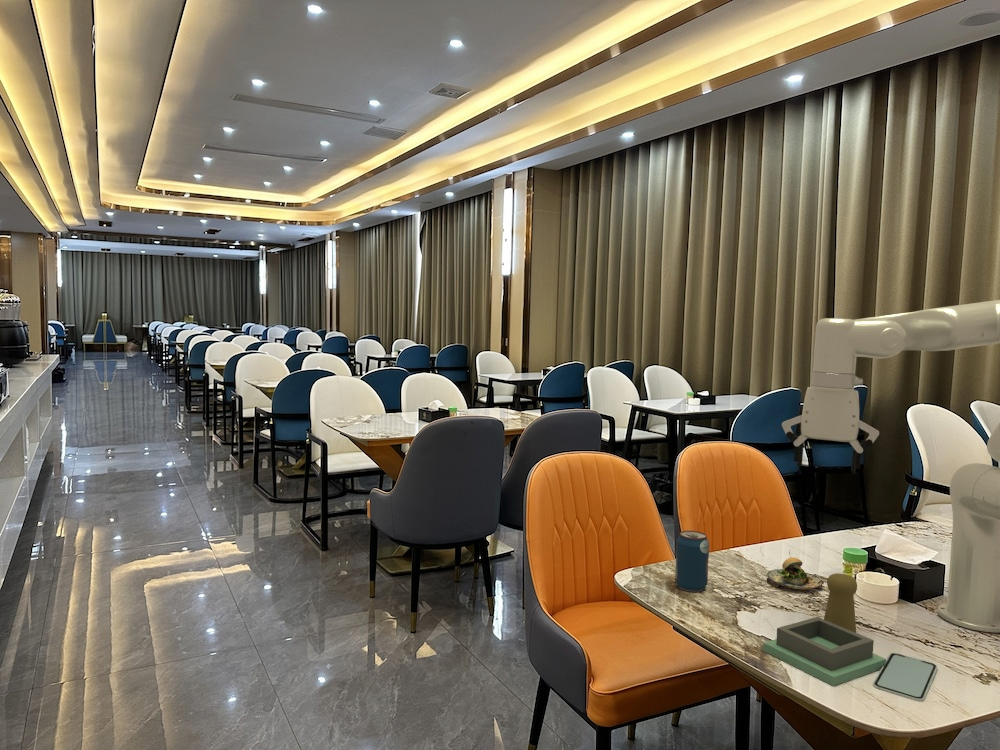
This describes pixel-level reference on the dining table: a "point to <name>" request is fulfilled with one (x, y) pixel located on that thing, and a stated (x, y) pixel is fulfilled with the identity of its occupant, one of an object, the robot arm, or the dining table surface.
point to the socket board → (825, 650)
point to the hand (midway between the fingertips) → (826, 468)
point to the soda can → (692, 561)
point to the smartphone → (906, 676)
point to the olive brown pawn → (841, 601)
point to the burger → (793, 576)
